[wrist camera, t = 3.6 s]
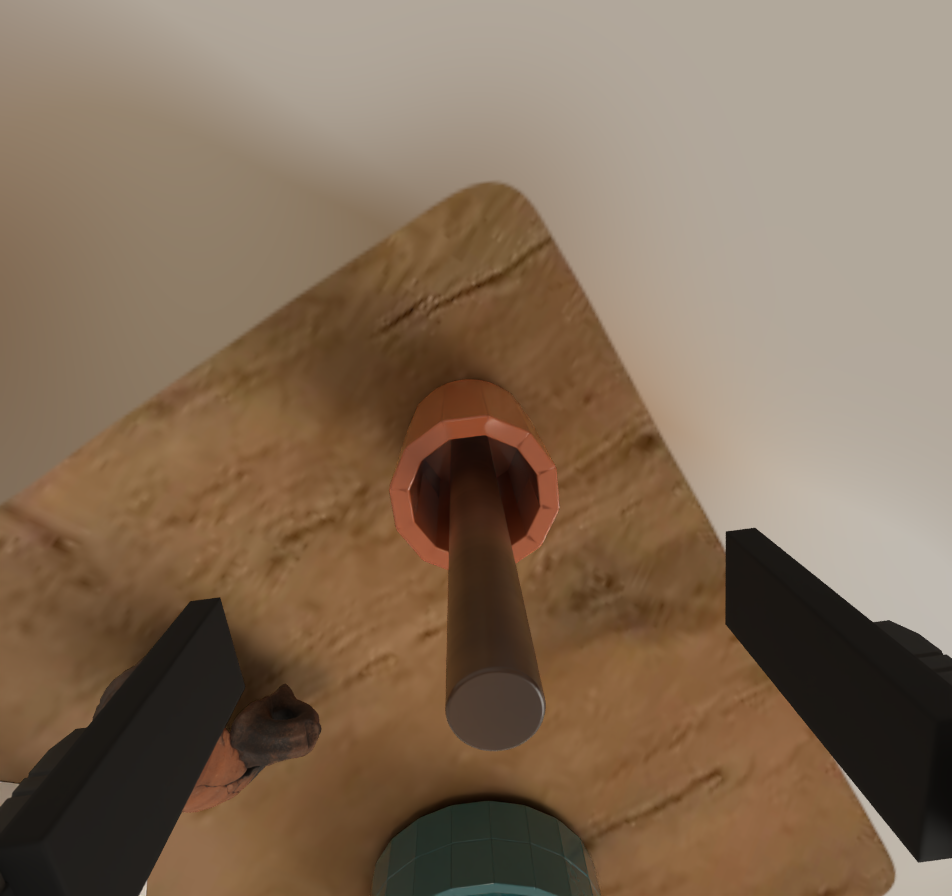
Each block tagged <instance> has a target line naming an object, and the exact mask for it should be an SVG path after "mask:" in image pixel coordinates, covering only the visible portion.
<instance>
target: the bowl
mask: <svg viewBox="0 0 952 896" xmlns="http://www.w3.org/2000/svg"><path fill="white" fill-rule="evenodd" d="M370 896H601V893H600V889H599V885H598V881H597V877H596V873H595V868H594V864H593V861H592V859H591V857H590V856H589V854H588V852H587V850H586V848H585V846H584V845H583V843H582V841H581V839H580V838H579V837H578V836H577V835H576V834H575V833H573V832H572V831H571V830H570V829H569V828H567V827H566V826H565V825H564V824H563V823H562V822H560V821H559V820H558V819H556V818H555V817H553V816H550V815H548V814H545V813H543V812H540V811H538V810H536V809H533V808H531V807H528V806H525V805H521V804H513V803H505V802H497V801H480V802H472V803H464V804H457V805H450V806H448V807H445V808H443V809H440V810H438V811H435V812H433V813H430V814H428V815H425V816H423V817H420V818H419V819H417V820H416V821H414V822H413V823H412V824H410V825H409V826H408V827H407V828H405V829H404V830H403V831H401V832H400V833H399V834H398V835H396V836H395V837H394V838H393V839H392V840H391V841H390V843H389V844H388V846H387V847H386V849H385V850H384V852H383V853H382V855H381V856H380V858H379V859H378V861H377V862H376V865H375V870H374V875H373V880H372V885H371V890H370Z"/></svg>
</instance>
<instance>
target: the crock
mask: <svg viewBox="0 0 952 896" xmlns="http://www.w3.org/2000/svg"><path fill="white" fill-rule="evenodd" d="M483 435H485V436H488V440H489V445H490V449H491V454H492V458H493V463H494V468H495V472H496V477H497V481H498V486H499V491H500V495H501V500H502V504H503V509H504V513H505V518H506V523H507V527H508V532H509V536H510V541H511V546H512V550H513V555H514V559H515V564H516V563H517V562H519V561H520V560H522V559H523V558H525V557H526V556H527V555H529V554H530V553H532V552H533V551H535V550H536V549H538V548H539V547H540V545H542V544H543V542H544V540H545V538H546V536H547V533H548V531H549V529H550V527H551V525H552V523H553V521H554V519H555V517H556V515H557V513H558V511H559V507H560V503H559V492H558V480H557V468H556V467H555V464H554V462H553V460H552V458H551V457H550V455H549V453H548V451H547V449H546V448H545V446H544V444H543V442H542V440H541V439H540V437H539V435H538V433H537V431H536V430H535V428H534V426H533V424H532V422H531V421H530V419H529V417H528V416H527V414H526V413H525V412H524V410H523V409H522V408H521V406H520V405H519V403H518V402H517V401H516V400H515V398H514V397H513V396H512V394H511V393H509V392H508V391H506V390H504V389H503V388H501V387H499V386H497V385H495V384H493V383H490V382H487V381H483V380H477V379H462V380H457V381H453V382H450V383H447V384H444V385H442V386H440V387H438V388H437V389H435V390H434V391H432V392H431V393H430V394H429V395H428V396H426V397H425V399H424V400H423V401H421V402H420V403H419V405H418V406H417V408H416V411H415V413H414V415H413V418H412V421H411V423H410V425H409V428H408V430H407V433H406V436H405V439H404V442H403V445H402V449H401V452H400V455H399V458H398V461H397V464H396V467H395V470H394V473H393V477H392V480H391V483H390V488H389V492H390V498H391V504H392V509H393V515H394V521H395V526H396V528H397V531H398V532H399V533H400V535H401V536H402V537H403V538H404V539H405V540H406V541H407V543H408V544H409V545H410V546H411V547H412V548H413V550H414V551H415V552H416V553H417V554H418V555H419V556H420V558H421V559H422V560H423V561H425V562H428V563H431V564H433V565H436V566H439V567H442V568H444V569H447V570H448V565H449V518H450V471H451V439H459V438H467V437H475V436H483Z"/></svg>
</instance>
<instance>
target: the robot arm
mask: <svg viewBox="0 0 952 896" xmlns="http://www.w3.org/2000/svg"><path fill="white" fill-rule="evenodd" d="M726 625H727V626H728V628H729V629H730V630H731V631H732V633H733V634H734V635H735V636H736V638H737V639H738V640H739V641H740V643H741V644H742V645H743V646H744V648H745V649H746V650H747V651H748V652H749V654H750V655H751V656H752V657H753V659H754V660H755V661H756V662H757V664H758V665H759V666H760V667H761V669H762V670H763V671H764V672H765V673H766V675H767V676H768V677H769V678H770V680H771V681H772V682H773V683H774V685H775V686H776V687H777V688H778V690H779V691H780V692H781V693H782V695H783V696H784V697H785V698H786V699H787V701H788V702H789V703H790V704H791V706H792V707H793V708H794V709H795V711H796V712H797V713H798V714H799V716H800V717H801V718H802V719H803V721H804V722H805V723H806V724H807V725H808V727H809V728H810V729H811V730H812V732H813V733H814V734H815V735H816V737H817V738H818V739H819V740H820V742H821V743H822V744H823V745H824V747H825V748H826V749H827V750H828V751H829V753H830V754H831V755H832V756H833V758H834V759H835V760H836V761H837V763H838V764H839V765H840V766H841V768H842V769H843V770H844V771H845V772H846V774H847V775H848V776H849V777H850V779H851V780H852V781H853V782H854V784H855V785H856V786H857V787H858V789H859V790H860V791H861V792H862V794H863V795H864V796H865V797H866V798H867V800H868V801H869V802H870V803H871V805H872V806H873V807H874V808H875V810H876V811H877V812H878V813H879V815H880V816H881V817H882V818H883V820H884V821H885V822H886V823H887V824H888V826H889V827H890V828H891V829H892V831H893V832H894V833H895V834H896V835H897V837H898V838H899V839H900V841H901V842H902V843H903V844H904V846H905V847H906V848H907V849H908V850H909V852H910V853H911V854H912V855H913V857H914V858H915V859H916V860H917V862H926V861H933V860H941V859H948V858H952V658H950V657H949V656H948V655H943V653H942V651H941V650H940V649H938V648H937V647H936V646H934V645H933V644H932V643H930V642H929V641H928V640H926V639H925V638H924V637H922V636H921V635H920V634H918V633H916V632H914V631H912V630H909V629H907V628H905V627H903V626H901V625H898V624H896V623H894V622H892V621H890V620H887V621H880V622H872V621H871V620H869V619H868V618H867V617H866V616H864V615H863V614H862V613H861V612H860V611H858V610H857V609H856V608H855V607H853V606H852V605H851V604H850V603H848V602H847V601H846V600H845V599H843V598H842V597H840V595H838V594H837V593H836V592H835V591H833V590H832V589H831V588H829V587H828V586H827V585H826V584H824V583H823V582H822V581H821V580H820V579H818V578H817V577H816V576H815V575H813V574H812V573H811V572H810V571H808V570H807V569H806V568H805V567H803V566H802V565H801V564H800V563H798V562H797V561H796V560H795V559H793V558H792V557H791V556H790V555H788V554H787V553H786V552H785V551H783V550H782V549H781V548H780V547H778V546H777V545H776V544H775V543H773V542H772V541H771V540H770V539H768V538H767V537H766V536H765V535H763V534H762V533H761V532H760V531H758V530H757V529H756V528H751V529H742V530H735V531H727V532H726ZM244 689H245V684H244V681H243V677H242V674H241V670H240V666H239V663H238V659H237V656H236V652H235V649H234V645H233V642H232V638H231V634H230V631H229V627H228V624H227V620H226V617H225V613H224V609H223V606H222V602H221V599H220V598H212V599H204V600H197V601H190V602H189V604H188V605H187V606H186V607H185V609H184V610H183V611H182V612H181V613H180V615H179V616H178V617H177V618H176V620H175V621H174V622H173V623H172V624H171V626H170V627H169V628H168V629H167V631H166V632H165V633H164V634H163V635H162V637H161V638H160V639H159V640H158V642H157V643H156V644H155V645H154V646H153V648H152V649H151V650H150V651H149V653H148V654H147V655H146V656H145V657H144V659H143V660H142V661H141V662H140V663H139V665H138V666H137V667H136V668H135V670H134V671H133V672H132V673H131V674H130V676H129V677H128V678H127V679H126V681H125V682H124V683H123V684H122V685H121V687H120V688H119V689H118V690H117V692H116V693H115V694H114V695H113V696H112V698H111V699H110V700H109V701H108V703H107V704H106V705H105V706H104V707H103V709H102V710H101V711H100V712H99V714H98V715H97V716H96V717H95V718H94V720H93V721H92V722H91V723H90V725H89V726H88V727H87V728H80V729H75V730H74V731H73V732H71V733H70V734H69V735H68V736H66V737H65V738H64V739H63V740H61V741H60V742H59V743H57V744H56V745H55V746H54V747H52V748H51V749H50V750H48V752H47V753H46V754H45V755H44V756H43V757H42V759H41V760H40V761H39V762H38V763H37V764H36V766H35V767H34V768H33V769H32V770H31V771H30V773H29V776H28V778H24V780H23V781H22V782H21V783H20V784H19V785H18V786H17V788H16V789H15V790H14V791H13V792H12V796H11V798H7V799H6V800H5V802H4V803H3V804H2V805H1V806H0V896H139V895H140V893H141V891H142V889H143V887H144V885H145V883H146V881H147V879H148V877H149V875H150V873H151V871H152V869H153V868H154V866H155V864H156V862H157V860H158V858H159V856H160V854H161V852H162V850H163V848H164V846H165V844H166V842H167V840H168V838H169V836H170V834H171V832H172V830H173V828H174V826H175V824H176V822H177V820H178V818H179V816H180V814H181V812H182V811H183V809H184V807H185V805H186V803H187V801H188V799H189V797H190V795H191V793H192V791H193V789H194V787H195V785H196V783H197V781H198V779H199V777H200V775H201V773H202V771H203V769H204V767H205V765H206V763H207V761H208V759H209V757H210V756H211V754H212V752H213V750H214V748H215V746H216V744H217V742H218V740H219V738H220V736H221V734H222V732H223V730H224V728H225V726H226V724H227V722H228V720H229V718H230V716H231V714H232V712H233V710H234V708H235V706H236V704H237V702H238V700H239V699H240V697H241V695H242V693H243V691H244Z"/></svg>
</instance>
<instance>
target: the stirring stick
mask: <svg viewBox="0 0 952 896" xmlns="http://www.w3.org/2000/svg"><path fill="white" fill-rule="evenodd" d="M545 709H546V703H545V697H544V693H543V688H542V683H541V679H540V674H539V670H538V665H537V660H536V656H535V651H534V647H533V642H532V637H531V633H530V628H529V624H528V619H527V614H526V610H525V605H524V601H523V596H522V592H521V587H520V582H519V578H518V573H517V569H516V564H515V559H514V555H513V550H512V546H511V541H510V536H509V532H508V527H507V523H506V518H505V513H504V509H503V504H502V500H501V495H500V491H499V486H498V481H497V477H496V472H495V468H494V463H493V458H492V454H491V449H490V445H489V440H488V436H485V435H483V436H475V437H467V438H459V439H451V471H450V518H449V565H448V613H447V660H446V708H445V710H446V718H447V721H448V724H449V726H450V727H451V729H452V731H453V732H454V734H455V735H456V736H457V737H458V738H459V739H460V740H461V741H463V742H464V743H466V744H467V745H469V746H471V747H474V748H477V749H480V750H486V751H502V750H508V749H511V748H514V747H517V746H519V745H521V744H523V743H524V742H526V741H527V740H529V739H530V738H531V737H532V736H533V735H534V734H535V733H536V732H537V730H538V729H539V727H540V725H541V723H542V721H543V718H544V715H545Z"/></svg>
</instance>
